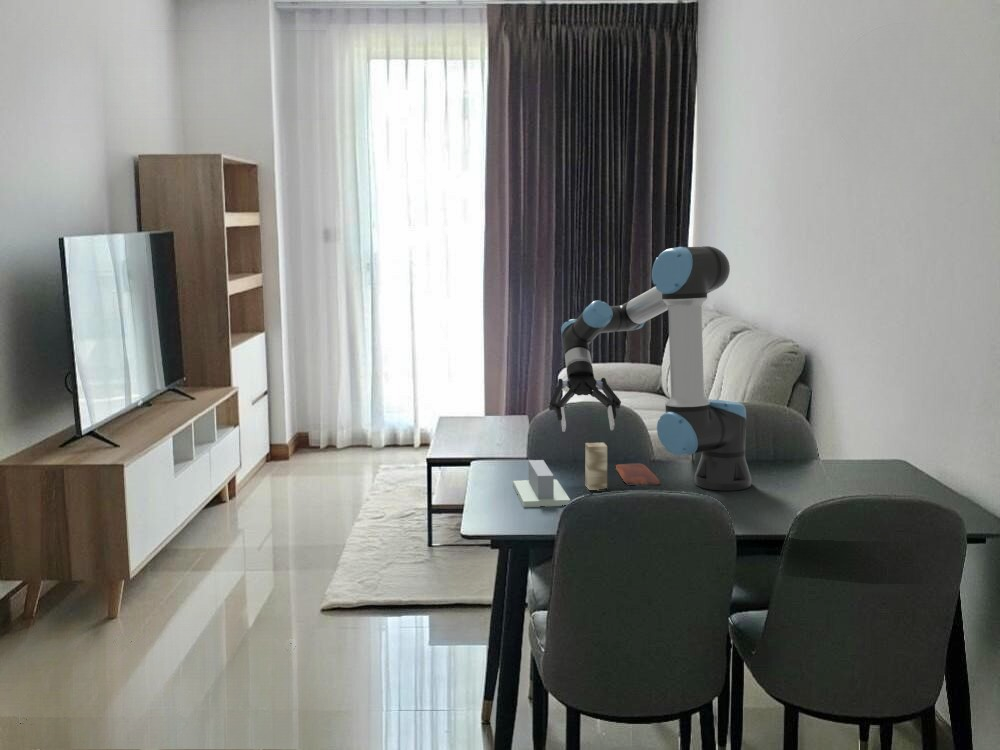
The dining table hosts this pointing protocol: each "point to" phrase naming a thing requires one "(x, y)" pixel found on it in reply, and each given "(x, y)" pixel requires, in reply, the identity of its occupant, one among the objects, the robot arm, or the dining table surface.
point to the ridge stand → (540, 487)
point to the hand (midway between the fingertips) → (588, 428)
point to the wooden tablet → (636, 474)
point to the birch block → (595, 466)
